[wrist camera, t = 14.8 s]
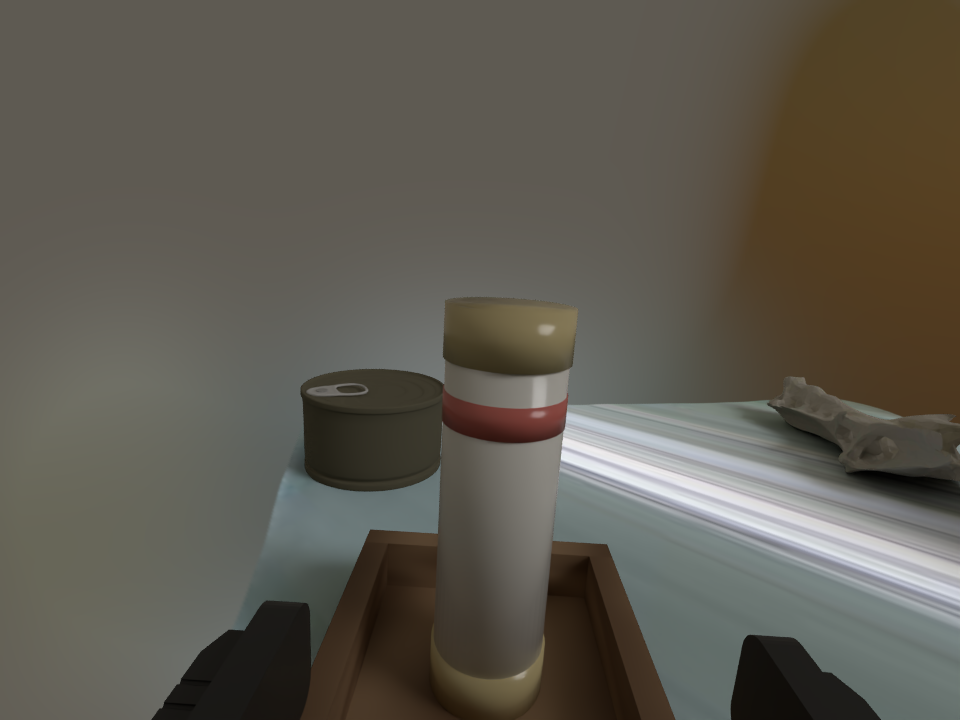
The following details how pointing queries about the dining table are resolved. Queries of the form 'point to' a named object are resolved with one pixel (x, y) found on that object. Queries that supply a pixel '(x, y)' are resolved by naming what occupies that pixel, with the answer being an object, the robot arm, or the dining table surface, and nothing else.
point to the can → (372, 428)
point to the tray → (407, 640)
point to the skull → (874, 434)
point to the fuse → (497, 500)
